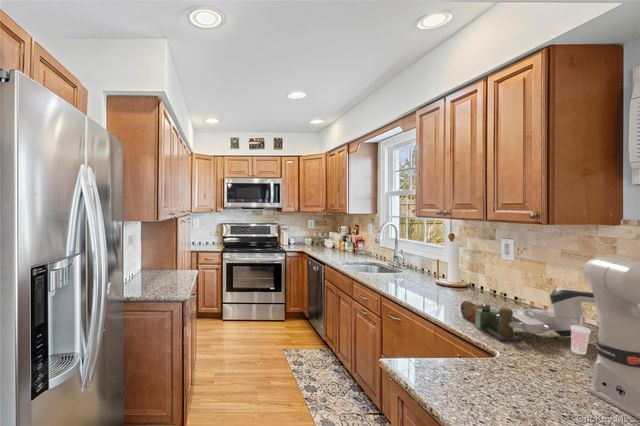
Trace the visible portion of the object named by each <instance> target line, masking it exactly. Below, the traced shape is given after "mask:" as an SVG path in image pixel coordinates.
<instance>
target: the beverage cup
mask: <svg viewBox="0 0 640 426" xmlns="http://www.w3.org/2000/svg"><path fill="white" fill-rule="evenodd" d="M582 316H583V317H584V314H583V315H581V320H580V326H578V325H571V326H570V327H571V336H570V351H571V352H572V353H574V354H577V355H586V354H587V351H588V347H589V339H590V334H591V333H592V330H591V329H590V328H589V327H586V326H585V327H583V326H582Z"/></svg>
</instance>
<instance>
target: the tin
mask: <svg viewBox="0 0 640 426" xmlns="http://www.w3.org/2000/svg"><path fill="white" fill-rule="evenodd" d="M476 309H481V304H478V303H475V302H473V301H471V300H470V301H469V300H464V301H463V302H461V305H460V312H461V315H462V317H463V318H464V319H466V320H468V321H471V322H472V323H475V310H476Z"/></svg>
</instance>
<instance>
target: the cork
mask: <svg viewBox="0 0 640 426" xmlns="http://www.w3.org/2000/svg"><path fill="white" fill-rule="evenodd" d="M511 309H512V308H509V307H500V308H499V309H498V311H499V314H500V320H499V327H498V334H500V335H501V336H503V337H513V336H514V335H515V334H514V329H513V328H514V327H510V326H509V322H512V319H511V317H512V316H513V311H512V310H511Z"/></svg>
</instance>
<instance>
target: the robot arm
mask: <svg viewBox="0 0 640 426" xmlns="http://www.w3.org/2000/svg"><path fill="white" fill-rule="evenodd" d="M582 275H583V278H584V279H585V281H586V282H587V284H588V285H589V286H590V289H591V291H592V292H589V291H579V290H576V289H572V288H569V287H568V288H566V287H558V288H555V289H554V290H553V291H552V292H551V293H550V295H549V299H550V303H551V305H552V309H547V310H545V309H535V308H534V309H533V308H528V307H523V306H522V307H520V308H510V309H511V310H512V311H513V316H512V317H511V319H512V322H509V326H510V327H513V328H516V329H521V330H523V331H524V332H526V333H529V334H541V333H545V332H548V331H552V332H555V334H557V335H559V336H560V337H571V327H570V326H571V325H578V326H580V320H581V315H583V316H582V326H583V327H586V323H585V317H584V312H583V308H582V307H583V306H582V303H590V304H594V305H596V309H597V313H598V314H597V315H598V338H597V339H596V343H595V345H596V346H595V347H596V349H595V350H596V353H597V357H596V359H595V363H594V367H593V371H592V372H593V373H592V380H591V381H590V385H589V387H588V392H589V393H590V394H592V395H595V396H596V397H598V398H600V399H601V400H603V401H605V402H607V403H609V404H610V405H613V406H614V407H617V408H618V409H620V410H621V411H624V412H625V413H627V414H630V415H631V416H633V417H635V418H636V419H638V420H640V262H637V261H632V260H626V259H622V258H617V257H611V256H603V257H602V256H601V257H593V258H591V259H589V260H588V261H587V262H586V263H585V264H584V266H583V270H582ZM496 318H497V319H499V321H500V314H497V315H496Z"/></svg>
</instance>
